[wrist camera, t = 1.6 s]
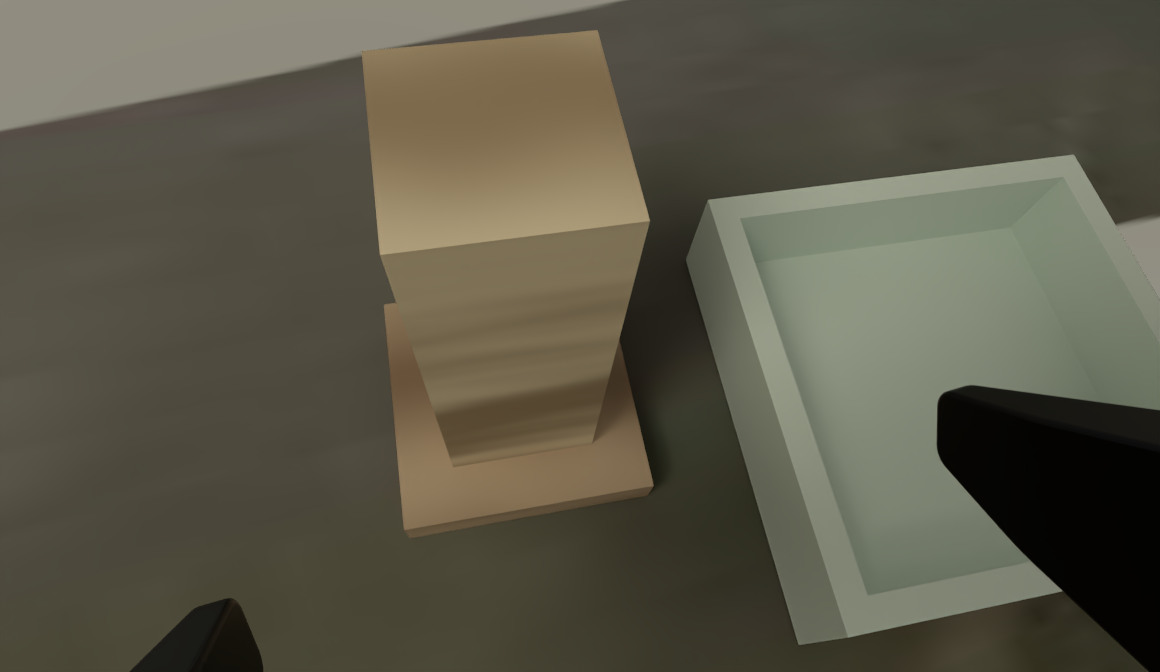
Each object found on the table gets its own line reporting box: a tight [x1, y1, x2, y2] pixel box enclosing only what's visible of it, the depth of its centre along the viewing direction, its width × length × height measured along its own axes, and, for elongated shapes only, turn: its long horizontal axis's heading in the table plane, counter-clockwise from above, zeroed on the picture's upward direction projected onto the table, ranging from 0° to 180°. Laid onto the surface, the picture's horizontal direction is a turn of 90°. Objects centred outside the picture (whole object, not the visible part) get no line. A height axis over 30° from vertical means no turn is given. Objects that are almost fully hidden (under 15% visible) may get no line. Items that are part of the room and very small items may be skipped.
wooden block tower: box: [362, 30, 654, 538], centre depth 17 cm, size 7×7×12 cm
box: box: [686, 155, 1160, 645], centre depth 22 cm, size 13×13×4 cm
